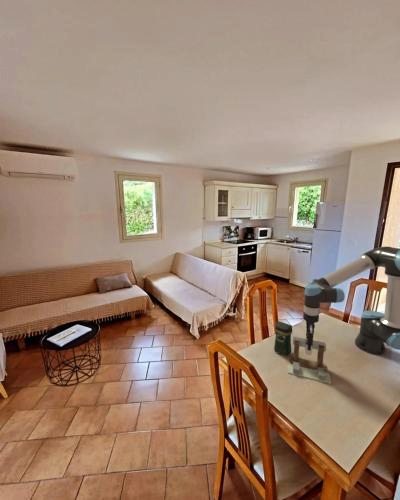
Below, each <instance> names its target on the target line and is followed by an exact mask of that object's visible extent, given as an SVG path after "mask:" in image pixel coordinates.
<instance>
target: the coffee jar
mask: <svg viewBox="0 0 400 500" xmlns="http://www.w3.org/2000/svg"><path fill="white" fill-rule="evenodd" d="M274 331H275V339H274V346H273V350H274V351H275V352H276V353H277V354H280V355H281V356H284V357H288V356H291V354H292V333H293V325H291V324H289V323H286V322H282V321H280V320H278V321H277V322H276V323H275V325H274Z"/></svg>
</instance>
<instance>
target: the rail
mask: <svg viewBox="0 0 400 500" xmlns="http://www.w3.org/2000/svg"><path fill="white" fill-rule="evenodd" d="M295 342H299V343H300V345H299V347H302V348H305V347H306V344H305V342H306V343H307V339H306V338H303V337H297V336H293V337H292V345H293V346H294V345H295ZM319 346H320V347H324V352H326V351H327V350H326V349H327V344H326V342H325V341H324V342H323V341H318V340H314V339H313V346H312V350H316V351H318V350H319Z"/></svg>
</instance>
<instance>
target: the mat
mask: <svg viewBox="0 0 400 500" xmlns="http://www.w3.org/2000/svg"><path fill="white" fill-rule="evenodd" d="M287 374H289V375H293V376H297V377H301V378H306V379H309V380H314V381H318V382H321V383H325V384H329V385H330V384H332V381H331V377H330V372H327V371H325V370H324V368H320V367H318V369H314V368H309V367H305V366H301V365H299V363H297V362H293V364H292V363H288V364H287Z"/></svg>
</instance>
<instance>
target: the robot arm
mask: <svg viewBox="0 0 400 500" xmlns="http://www.w3.org/2000/svg"><path fill="white" fill-rule="evenodd" d="M381 267H382V268H384V275H385V276H387V282H386V283H387V284H386V294H385V305H384V312H380V311H377V310H363V311H362V313H361V316H360V317H361V318H360V326H359V332H358V334H357V336H356V338H355V341H354V344H355V345H356V347H357V348H358V349H360V350H361V351H364V352H366V353H369V354H371V355H383V354H386V350H387V348H386V345H387V346H388V347H390V348H392V349H394V350H397V351H399V350H400V248H397V247H392V246H379V247H376V248H373V249H371V250H369V251H366V252H364V253H362V254H361V255H360V256H359V257H358V258H356V259H354V260H353V261H350V262H349V263H347V264H345V265H344V266H341V267H340V268H338V269H336V270H334V271H332V272H330V273H328V274H326V275H324V276H322V277H321V278H320V277H319V279H317V278H312V279H310V280H308V282H307V285H305V289H304V299H303V306H302V308H303V315H302V318H303V320H304V321H306V322H305V325H306V326H305V328H306V331H305V332H306V333H305V339H307V343H306V342H305V344H306V347H304V349H305V355H306V356H312V351H313V349H312V346H313V340H314V333H315V328H316V325H315V323H318V322H319V321H320V320H319V319H320V309H321V307H320V306H321V304H331V303H332V304H333V303H334V304H337V303H342V302H344V301H345V292H344V290H343V289H341V288H340V287H339V288H338V287H336V286H338V285H340V284H342V283H345V282H346V281H348V280H350V279H352V278H354V277H355V276H358V275H359V274H361V273H364V272H366V271H367V270H373V269H375V268H381ZM385 344H386V345H385Z"/></svg>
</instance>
